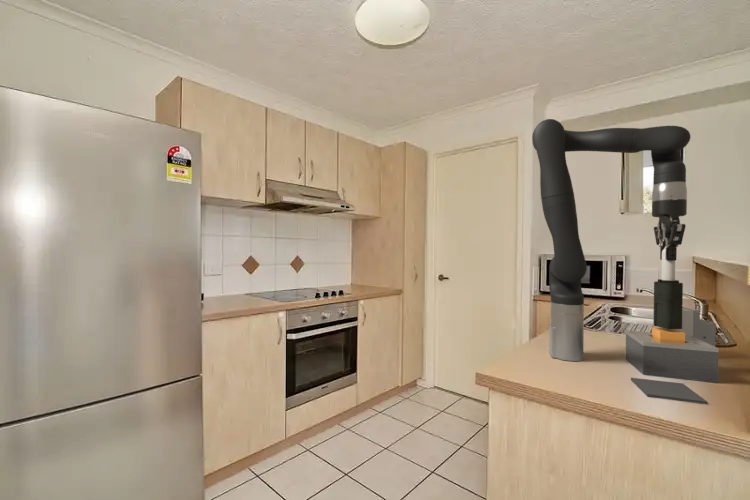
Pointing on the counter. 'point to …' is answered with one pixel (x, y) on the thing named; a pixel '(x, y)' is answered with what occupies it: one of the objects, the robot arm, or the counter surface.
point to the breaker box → (672, 357)
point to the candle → (668, 297)
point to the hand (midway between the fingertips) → (668, 260)
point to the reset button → (668, 335)
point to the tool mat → (667, 390)
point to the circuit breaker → (698, 326)
